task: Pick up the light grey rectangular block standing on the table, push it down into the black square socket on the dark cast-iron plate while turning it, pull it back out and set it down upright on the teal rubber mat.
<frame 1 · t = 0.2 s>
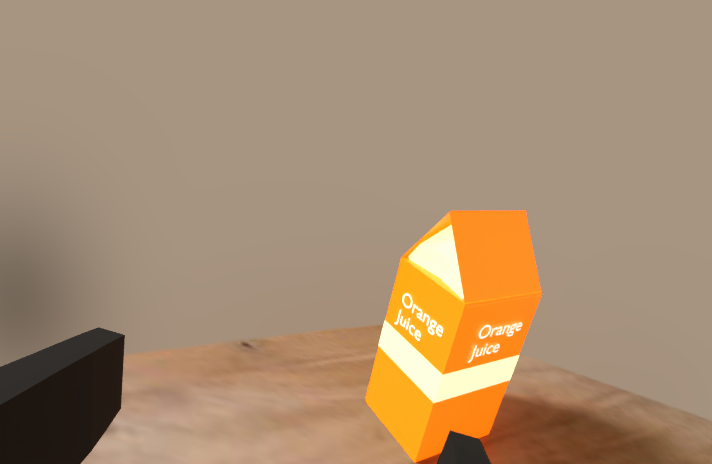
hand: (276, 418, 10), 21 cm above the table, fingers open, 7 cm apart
orange juice: (425, 418, 43), on the table
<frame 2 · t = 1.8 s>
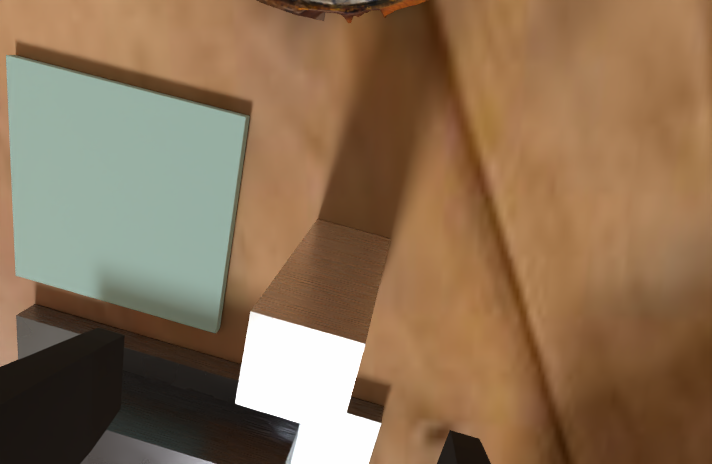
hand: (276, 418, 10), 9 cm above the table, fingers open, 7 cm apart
light grey rectangular block: (345, 262, 18), on the table
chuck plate: (191, 455, 23), on the table
mat: (124, 201, 19), on the table
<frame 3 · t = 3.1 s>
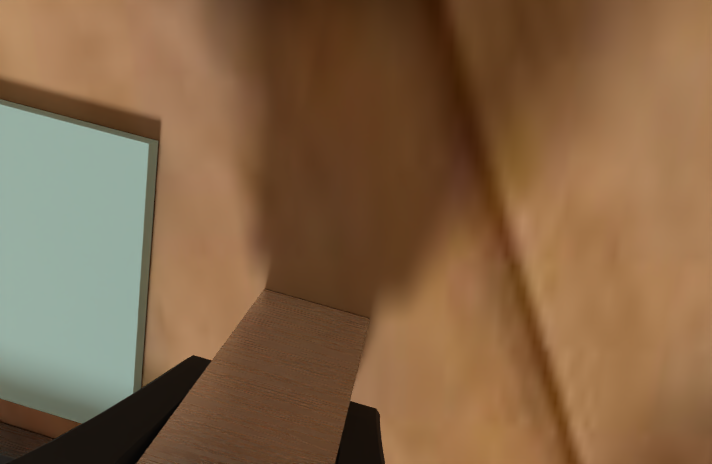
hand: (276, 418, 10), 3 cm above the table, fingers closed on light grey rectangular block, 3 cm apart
light grey rectangular block: (306, 348, 13), on the table, touching gripper
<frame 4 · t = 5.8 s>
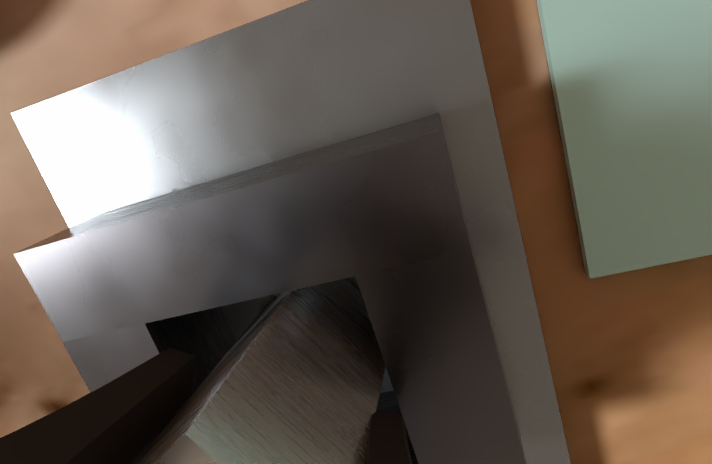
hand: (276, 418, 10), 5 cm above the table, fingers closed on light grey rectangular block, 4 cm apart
light grey rectangular block: (323, 320, 13), point 1 cm above the table, touching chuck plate, gripper
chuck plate: (322, 310, 14), on the table
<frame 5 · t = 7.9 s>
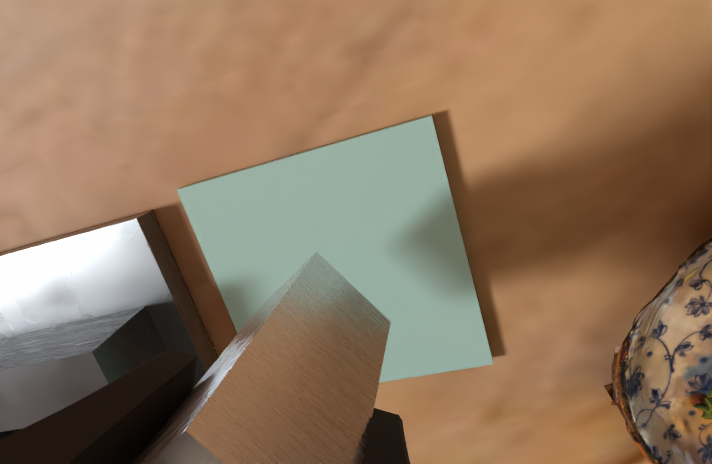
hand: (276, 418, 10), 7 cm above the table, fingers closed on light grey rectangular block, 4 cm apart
light grey rectangular block: (320, 318, 13), point 4 cm above the table, touching gripper
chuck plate: (112, 409, 21), on the table
mat: (339, 273, 17), on the table
when the fingers open (4 cm above the table, at t = 8.9 s): light grey rectangular block stays where it is, resting on mat.
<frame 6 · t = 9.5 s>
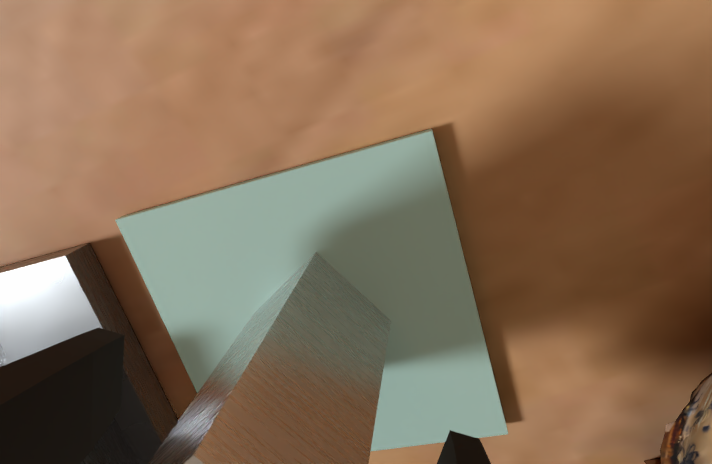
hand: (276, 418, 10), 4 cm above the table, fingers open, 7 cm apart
light grey rectangular block: (320, 317, 13), resting on mat
mat: (318, 321, 14), on the table
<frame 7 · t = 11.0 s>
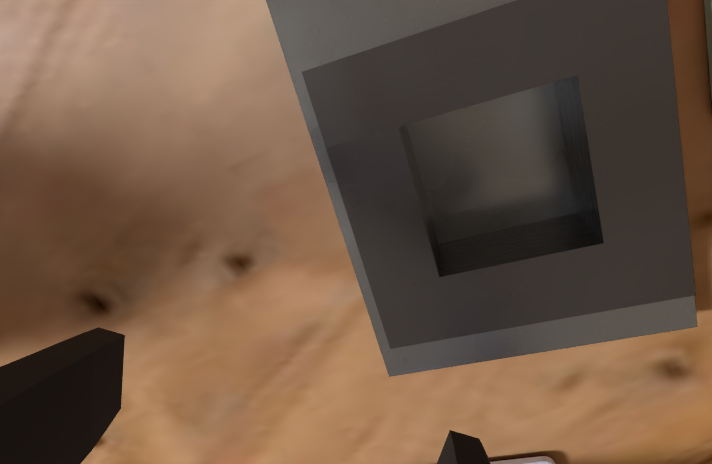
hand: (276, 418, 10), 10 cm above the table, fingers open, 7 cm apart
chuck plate: (487, 159, 18), on the table
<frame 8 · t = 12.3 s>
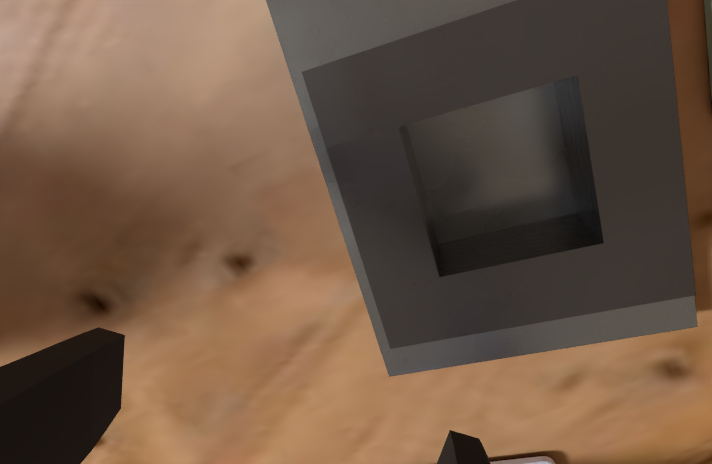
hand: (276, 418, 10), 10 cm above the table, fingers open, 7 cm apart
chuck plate: (487, 159, 18), on the table
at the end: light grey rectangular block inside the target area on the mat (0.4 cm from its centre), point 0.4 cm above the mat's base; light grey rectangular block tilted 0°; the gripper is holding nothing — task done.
